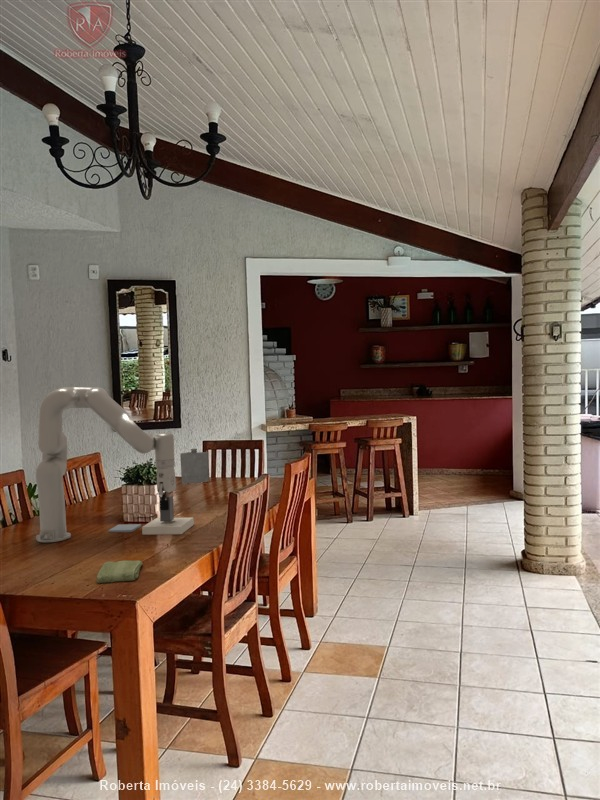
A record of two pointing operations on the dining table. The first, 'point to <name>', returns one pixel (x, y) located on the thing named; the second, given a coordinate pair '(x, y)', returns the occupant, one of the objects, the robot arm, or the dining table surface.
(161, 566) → the dining table surface
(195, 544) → the dining table surface
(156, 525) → the white square slab
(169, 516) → the plug
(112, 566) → the washcloth
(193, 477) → the hip flask
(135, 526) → the mat
